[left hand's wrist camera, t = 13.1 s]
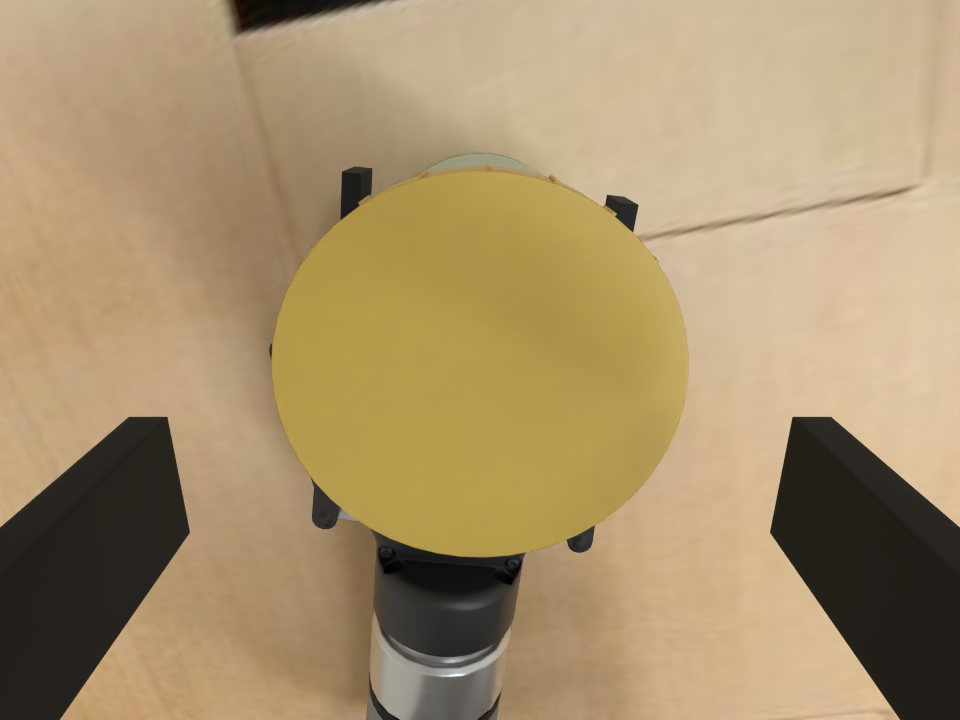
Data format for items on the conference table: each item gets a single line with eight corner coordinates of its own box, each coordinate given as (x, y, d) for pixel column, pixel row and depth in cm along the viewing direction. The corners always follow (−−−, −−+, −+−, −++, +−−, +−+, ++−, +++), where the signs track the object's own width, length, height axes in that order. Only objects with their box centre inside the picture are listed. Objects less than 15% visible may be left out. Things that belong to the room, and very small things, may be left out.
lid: (207, 302, 18) (178, 321, 17) (552, 73, 16) (560, 68, 14) (425, 574, 22) (420, 615, 20) (733, 416, 20) (758, 445, 18)
